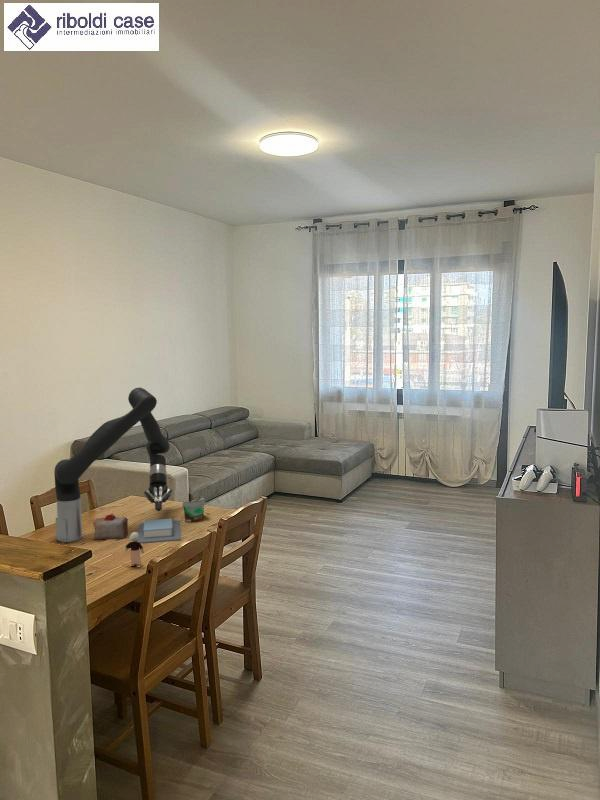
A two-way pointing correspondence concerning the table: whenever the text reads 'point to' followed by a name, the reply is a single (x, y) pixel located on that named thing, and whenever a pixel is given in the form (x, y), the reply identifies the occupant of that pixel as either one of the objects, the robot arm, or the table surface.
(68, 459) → the robot arm
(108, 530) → the food item
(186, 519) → the food container
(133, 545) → the grandmother figurine
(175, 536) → the mat
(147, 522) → the book
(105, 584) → the table surface
